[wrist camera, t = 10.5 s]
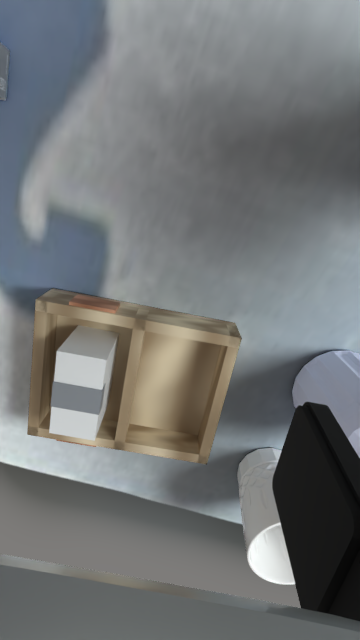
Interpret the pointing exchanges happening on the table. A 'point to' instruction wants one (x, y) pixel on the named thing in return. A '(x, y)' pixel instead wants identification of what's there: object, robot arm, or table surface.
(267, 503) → the white cup
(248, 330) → the table surface
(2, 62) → the label tape box
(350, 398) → the spray bottle
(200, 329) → the wooden compartment tray
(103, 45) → the table surface
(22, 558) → the robot arm
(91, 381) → the grey banded white block
